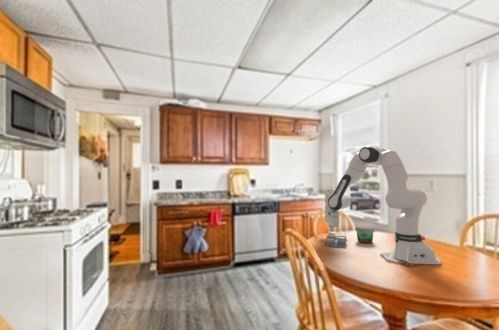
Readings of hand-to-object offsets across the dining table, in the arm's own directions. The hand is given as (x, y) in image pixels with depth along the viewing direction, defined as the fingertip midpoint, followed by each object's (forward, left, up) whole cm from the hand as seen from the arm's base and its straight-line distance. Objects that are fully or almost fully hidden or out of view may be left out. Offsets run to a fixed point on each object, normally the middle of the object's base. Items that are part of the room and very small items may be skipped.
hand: (331, 230), depth 195 cm
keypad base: (-4, +7, -6) cm, 10 cm away
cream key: (0, 0, -4) cm, 4 cm away
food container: (-23, +3, -6) cm, 24 cm away
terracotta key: (0, +14, -5) cm, 15 cm away
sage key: (-7, 0, -5) cm, 9 cm away
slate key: (-7, +14, -4) cm, 16 cm away
